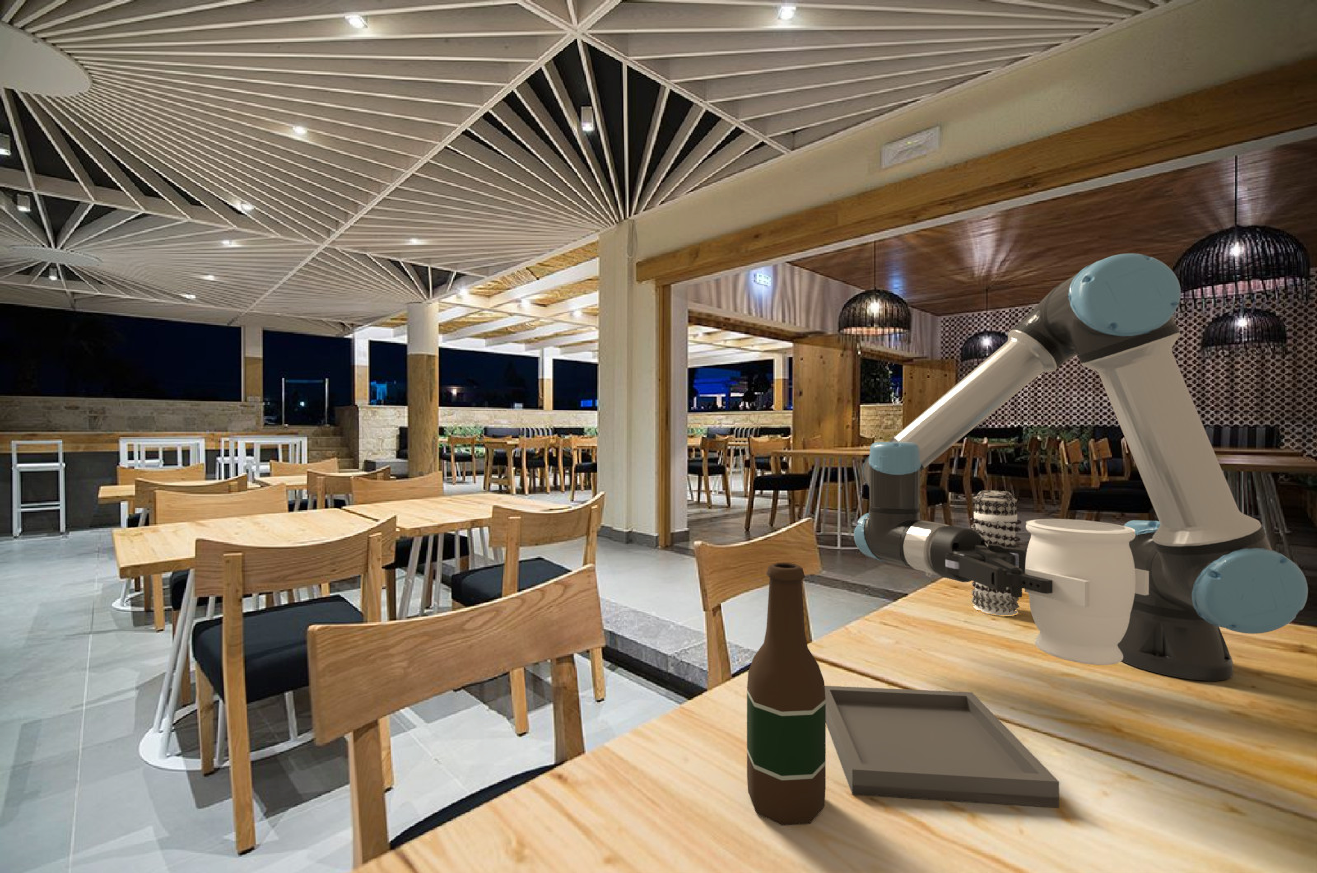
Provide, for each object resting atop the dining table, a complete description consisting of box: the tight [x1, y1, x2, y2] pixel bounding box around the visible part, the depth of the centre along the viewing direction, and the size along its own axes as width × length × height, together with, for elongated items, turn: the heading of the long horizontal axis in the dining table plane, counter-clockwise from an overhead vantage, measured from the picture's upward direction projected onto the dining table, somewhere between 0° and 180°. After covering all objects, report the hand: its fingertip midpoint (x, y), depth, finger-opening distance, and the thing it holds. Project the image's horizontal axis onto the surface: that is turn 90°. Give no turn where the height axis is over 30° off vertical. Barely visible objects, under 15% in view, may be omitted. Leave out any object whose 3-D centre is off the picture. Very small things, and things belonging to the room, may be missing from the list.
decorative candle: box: [970, 490, 1022, 615], centre depth 122 cm, size 9×9×25 cm
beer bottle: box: [746, 562, 827, 826], centre depth 59 cm, size 8×8×24 cm
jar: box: [1025, 518, 1136, 666], centre depth 68 cm, size 11×10×15 cm
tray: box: [825, 685, 1060, 808], centre depth 69 cm, size 20×20×3 cm
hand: (1118, 588), depth 64 cm, fingers closed on jar, 10 cm apart
